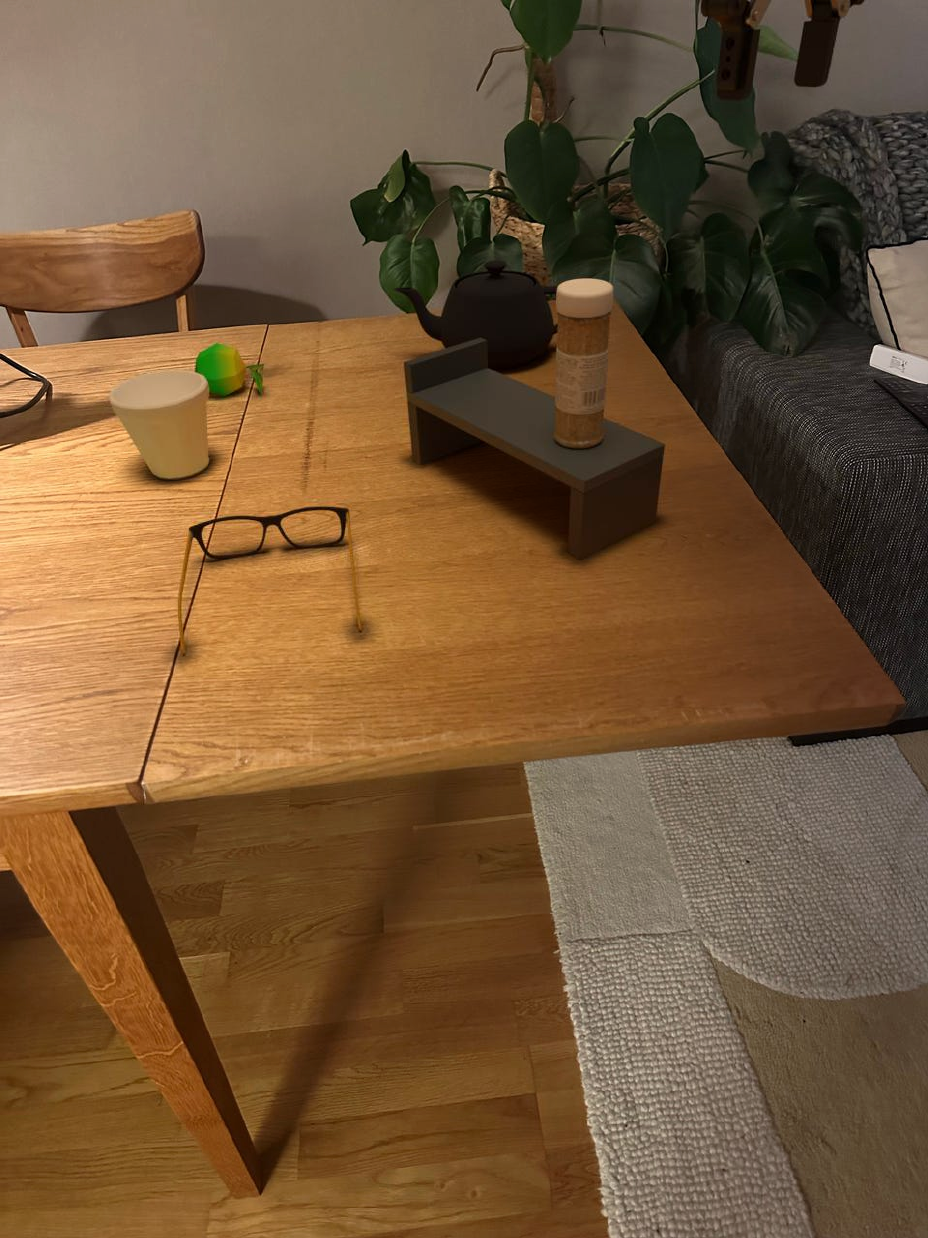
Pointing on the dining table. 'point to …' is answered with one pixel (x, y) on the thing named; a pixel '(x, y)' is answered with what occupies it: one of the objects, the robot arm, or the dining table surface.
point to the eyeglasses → (265, 521)
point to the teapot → (493, 314)
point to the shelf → (533, 442)
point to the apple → (225, 369)
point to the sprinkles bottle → (581, 361)
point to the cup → (166, 420)
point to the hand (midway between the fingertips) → (772, 92)
